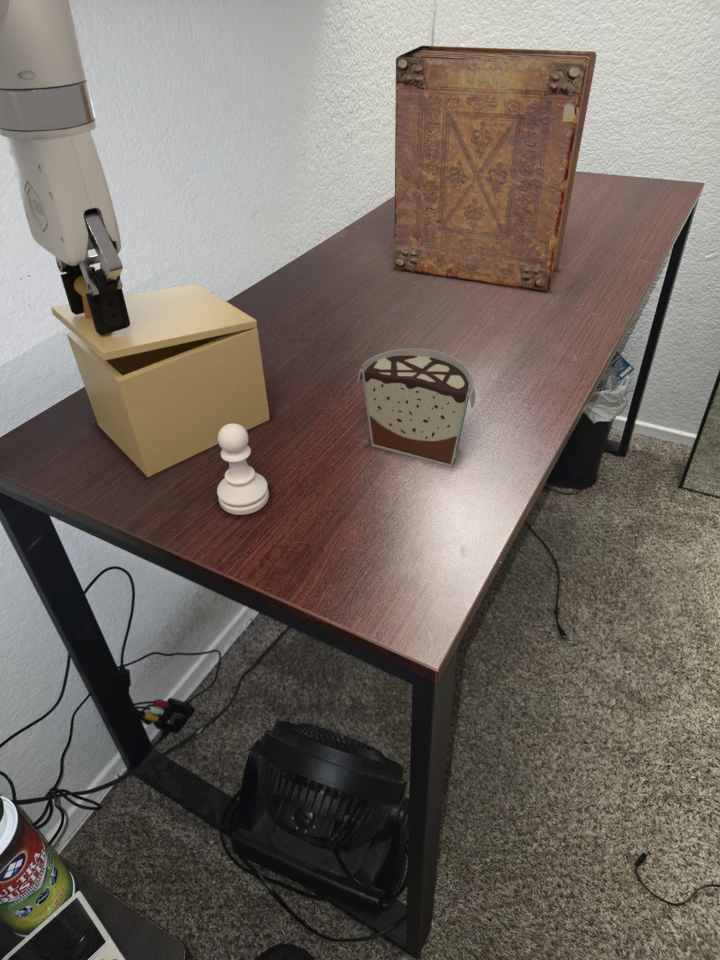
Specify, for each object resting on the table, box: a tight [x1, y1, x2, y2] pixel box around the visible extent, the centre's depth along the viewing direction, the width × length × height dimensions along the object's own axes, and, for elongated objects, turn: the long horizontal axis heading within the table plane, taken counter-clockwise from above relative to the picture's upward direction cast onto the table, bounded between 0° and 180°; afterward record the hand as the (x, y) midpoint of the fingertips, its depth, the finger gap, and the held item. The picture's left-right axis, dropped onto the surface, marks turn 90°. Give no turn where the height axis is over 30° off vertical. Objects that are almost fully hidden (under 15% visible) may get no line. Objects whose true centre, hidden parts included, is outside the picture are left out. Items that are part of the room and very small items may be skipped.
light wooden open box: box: [66, 326, 271, 478], centre depth 73 cm, size 16×13×12 cm
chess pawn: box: [216, 423, 270, 516], centre depth 63 cm, size 5×5×9 cm
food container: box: [357, 348, 476, 468], centre depth 70 cm, size 12×6×10 cm, turn 65°
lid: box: [50, 276, 258, 361], centre depth 67 cm, size 16×13×5 cm
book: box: [393, 45, 598, 294], centre depth 98 cm, size 25×9×30 cm, turn 67°
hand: (100, 318), depth 64 cm, fingers closed on lid, 5 cm apart
